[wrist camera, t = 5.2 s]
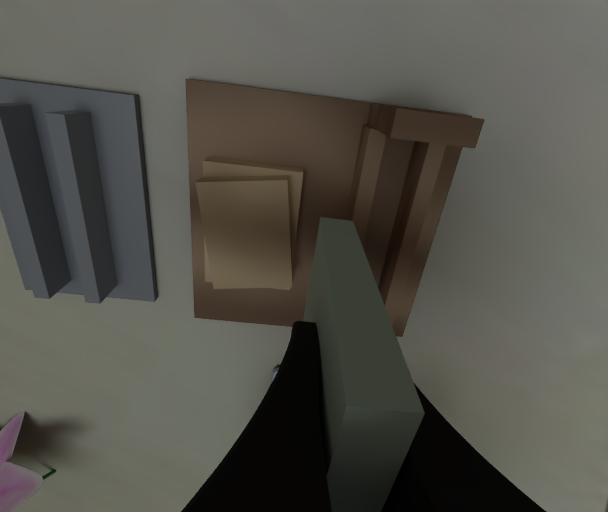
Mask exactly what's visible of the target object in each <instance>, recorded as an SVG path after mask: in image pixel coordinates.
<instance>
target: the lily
mask: <svg viewBox="0 0 608 512" xmlns="http://www.w3.org/2000/svg"><path fill="white" fill-rule="evenodd" d="M23 418H24V412H20V413H19V414H17V415H16V416H15V417H14V418H13V419H12V420H11V421H10V422H9V423H8V424H7V425H5V427H4V428H3V429H2V430H1V431H0V512H13V511H15V510H16V509H17V508H18V507H20V506H21V505H22V504H23V503H24V502H26V501H27V500H28V499H29V498H30V497H32V496H33V495H34V494H35V493H36V492H37V491H38V490H39V489H40V487H41V486H42V484H43V482H44V481H43V480H44V479H46V478H47V477H49V476H50V475H52V474H54V473H55V472H56V470H52V471H51V472H49V473H48V474H46V475H44V476H43V477H42V476H41V475H39V474H38V473H36V472H34V471H32V470H29V469H27V468H24V467H21V466H18V465H16V464H13V463H10V461H11V457H12V454H13V451H14V447H15V444H16V441H17V437H18V434H19V431H20V428H21V424H22V421H23Z"/></svg>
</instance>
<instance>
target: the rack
mask: <svg viewBox="0 0 608 512" xmlns="http://www.w3.org/2000/svg"><path fill="white" fill-rule="evenodd" d="M186 104H187V130H188V157H189V183H190V209H191V236H192V262H193V289H194V315H195V318H203V319H214V320H225V321H236V322H247V323H258V324H268V325H279V326H290V327H293V323H294V322H296V321H303V319H304V313H305V307H306V301H307V295H308V289H309V283H310V277H311V271H312V265H313V259H314V253H315V247H316V241H317V235H318V229H319V223H320V217H324V218H332V219H340V220H348V221H353V223H354V225H355V228H356V231H357V233H358V236H359V239H360V241H361V244H362V247H363V249H364V252H365V255H366V257H367V260H368V263H369V265H370V268H371V271H372V273H373V276H374V279H375V281H376V284H377V287H378V289H379V292H380V295H381V298H382V300H383V303H384V306H385V308H386V311H387V314H388V316H389V319H390V322H391V324H392V327H393V330H394V332H395V335H396V336H399V337H402V336H403V333H404V329H405V326H406V323H407V320H408V317H409V314H410V311H411V307H412V304H413V301H414V298H415V295H416V292H417V289H418V285H419V282H420V279H421V276H422V273H423V270H424V267H425V263H426V260H427V257H428V254H429V251H430V248H431V244H432V241H433V238H434V235H435V232H436V229H437V226H438V222H439V219H440V216H441V213H442V210H443V207H444V204H445V200H446V197H447V194H448V191H449V188H450V185H451V182H452V178H453V175H454V172H455V169H456V166H457V163H458V159H459V156H460V153H461V150H462V147H468V148H475V147H476V144H477V141H478V138H479V135H480V132H481V129H482V126H483V123H484V120H485V119H479V118H473V117H472V116H469V115H462V114H454V113H447V112H439V111H431V110H423V109H416V108H408V107H400V106H393V105H385V104H377V103H370V102H362V101H354V100H346V99H339V98H331V97H323V96H316V95H308V94H300V93H293V92H285V91H277V90H269V89H262V88H254V87H246V86H239V85H231V84H223V83H216V82H208V81H200V80H192V79H186ZM207 157H212V158H221V159H229V160H238V161H246V162H255V163H263V164H272V165H280V166H289V167H297V168H303V180H302V189H301V198H300V206H299V215H298V224H297V232H296V241H295V250H294V258H293V267H292V270H293V285H292V287H290V290H284V289H274V288H235V289H214V288H213V283H212V282H205V254H204V230H203V224H202V218H201V212H200V206H199V201H198V195H197V189H196V183H195V182H196V181H197V180H199V179H200V178H201V177H203V160H204V159H206V158H207Z"/></svg>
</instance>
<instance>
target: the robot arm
mask: <svg viewBox="0 0 608 512" xmlns="http://www.w3.org/2000/svg"><path fill="white" fill-rule="evenodd" d="M319 362H320V344H319V337H318V330H317V325H316V323H315V322H306V321H296V322H294V323H293V327H292V334H291V339H290V342H289V345H288V348H287V351H286V353H285V356H284V358H283V360H282V363H281V365H280V367H279V368H275V369H274V371H273V378H272V383H271V385H270V387H269V389H268V391H267V393H266V395H265V397H264V398H263V400H262V402H261V403H260V405H259V407H258V409H257V410H256V412H255V413H254V415H253V417H252V418H251V420H250V421H249V423H248V424H247V426H246V428H245V429H244V430H243V432H242V433H241V435H240V436H239V438H238V439H237V441H236V442H235V443H234V445H233V446H232V448H231V449H230V451H229V452H228V453H227V455H226V456H225V457H224V459H223V460H222V462H221V463H220V464H219V466H218V467H217V468H216V469H215V471H214V472H213V473H212V474H211V476H210V477H209V478H208V479H207V481H206V482H205V483H204V484H203V486H202V487H201V488H200V489H199V491H198V492H197V493H196V494H195V496H194V497H193V498H192V499H191V501H190V502H189V503H188V504H187V505H186V507H185V508H184V509H183V510H182V511H181V512H332V510H331V504H330V497H329V490H328V483H327V476H326V468H325V460H324V452H323V444H322V435H321V425H320V415H319V398H318V390H319ZM413 383H414V382H413ZM414 386H415V388H416V391H417V394H418V396H419V399H420V402H421V405H422V407H423V410H424V413H425V414H424V416H423V419H422V421H421V423H420V425H419V428H418V430H417V432H416V434H415V437H414V439H413V441H412V443H411V446H410V448H409V450H408V452H407V455H406V457H405V459H404V461H403V464H402V466H401V468H400V470H399V473H398V475H397V477H396V479H395V482H394V484H393V486H392V488H391V491H390V493H389V495H388V497H387V500H386V502H385V504H384V506H383V509H382V511H381V512H546V511H545V510H543V509H542V508H541V507H540V506H538V505H537V504H536V503H535V502H534V501H532V500H531V499H530V498H529V497H528V496H527V495H525V494H524V493H523V492H522V491H521V490H519V489H518V488H517V487H516V486H515V485H514V484H513V483H511V482H510V481H509V480H508V479H507V478H506V477H505V476H504V475H502V474H501V473H500V472H499V471H498V470H497V469H496V468H495V467H493V466H492V465H491V464H490V463H489V462H488V461H487V460H486V459H485V458H484V457H483V456H481V455H480V454H479V453H478V452H477V451H476V450H475V449H474V448H473V447H472V446H471V445H470V444H469V443H468V442H467V441H466V440H465V439H464V438H463V437H462V436H461V435H460V434H459V433H458V432H457V431H456V430H455V429H454V428H453V427H452V426H451V425H450V424H449V423H448V422H447V420H446V419H445V418H444V417H443V416H442V415H441V414H440V413H439V412H438V411H437V409H436V408H435V407H434V406H433V405H432V404H431V403H430V402H429V400H428V399H427V398H426V397H425V396H424V395H423V393H422V392H421V391H420V390H419V389H418V387H417V386H416V385H415V384H414Z"/></svg>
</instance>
